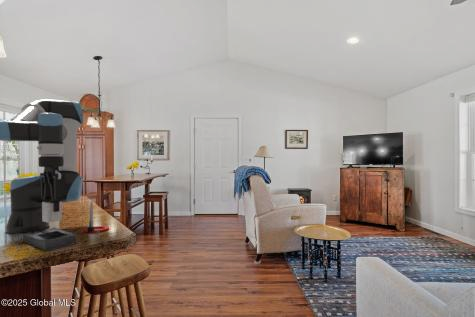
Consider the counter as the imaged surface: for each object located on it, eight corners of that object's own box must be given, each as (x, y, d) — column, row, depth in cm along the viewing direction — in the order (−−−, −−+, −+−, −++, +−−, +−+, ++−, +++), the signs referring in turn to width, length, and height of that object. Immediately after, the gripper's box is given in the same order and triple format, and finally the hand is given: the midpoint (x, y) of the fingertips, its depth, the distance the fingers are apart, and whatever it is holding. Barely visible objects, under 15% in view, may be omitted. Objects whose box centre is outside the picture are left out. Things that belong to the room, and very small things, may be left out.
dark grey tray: (24, 241, 100) (24, 233, 100) (54, 235, 108) (54, 227, 108) (45, 251, 90) (45, 241, 90) (76, 242, 98) (76, 234, 98)
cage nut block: (42, 221, 97) (42, 201, 97) (56, 218, 101) (55, 200, 101) (47, 222, 94) (47, 202, 94) (61, 220, 98) (61, 201, 98)
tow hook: (95, 228, 120) (80, 233, 111) (96, 199, 120) (81, 202, 111) (112, 228, 119) (98, 234, 109) (113, 199, 119) (99, 202, 110)
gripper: (29, 156, 99) (30, 219, 99) (50, 155, 90) (51, 225, 90) (52, 156, 106) (53, 215, 106) (73, 155, 96) (74, 220, 96)
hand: (52, 219), depth 98 cm, fingers closed on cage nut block, 4 cm apart
